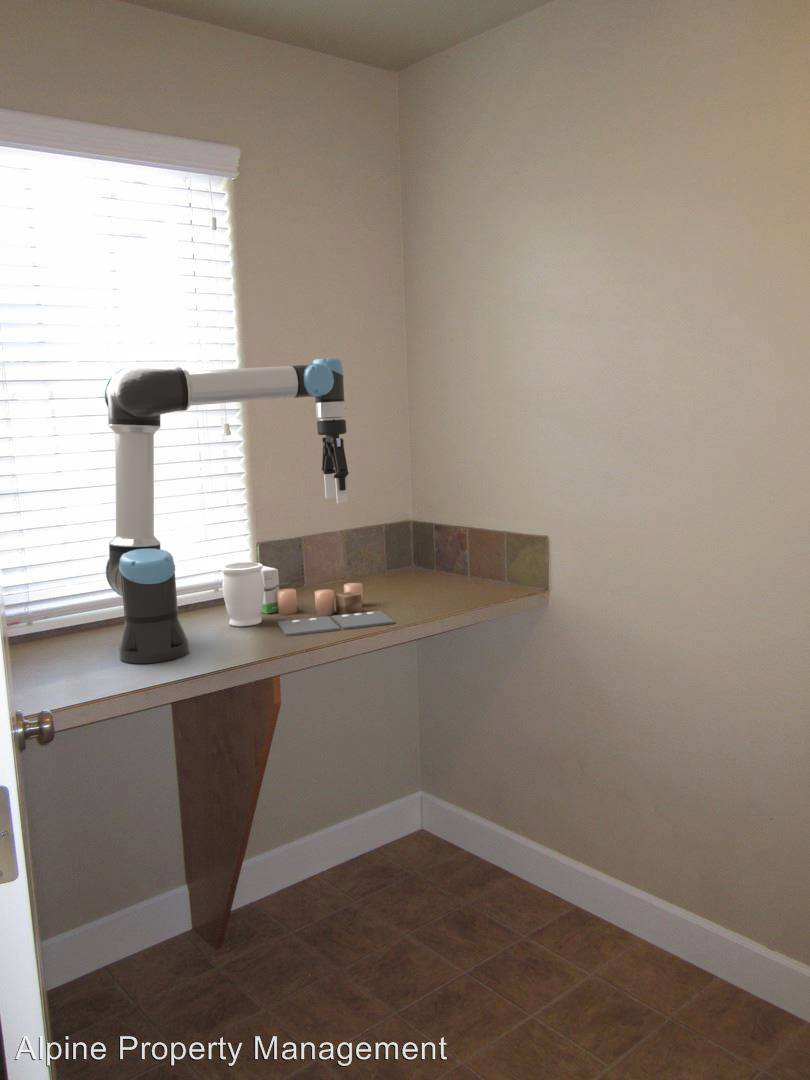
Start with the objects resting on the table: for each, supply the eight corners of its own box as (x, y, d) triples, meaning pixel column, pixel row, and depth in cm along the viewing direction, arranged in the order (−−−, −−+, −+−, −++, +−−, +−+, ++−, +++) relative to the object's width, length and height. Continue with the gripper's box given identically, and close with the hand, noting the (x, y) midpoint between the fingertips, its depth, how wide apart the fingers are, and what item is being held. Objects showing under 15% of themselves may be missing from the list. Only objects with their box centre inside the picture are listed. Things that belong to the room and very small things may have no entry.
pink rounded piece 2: (347, 609, 238) (346, 587, 237) (342, 605, 243) (341, 583, 242) (365, 607, 240) (364, 585, 239) (360, 603, 244) (359, 582, 244)
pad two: (286, 636, 212) (286, 632, 212) (277, 624, 225) (277, 621, 224) (339, 630, 216) (339, 626, 216) (328, 618, 228) (328, 615, 228)
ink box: (282, 611, 239) (279, 568, 237) (266, 614, 236) (263, 571, 234) (265, 606, 246) (262, 564, 244) (249, 609, 242) (247, 567, 241)
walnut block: (345, 616, 231) (344, 597, 230) (336, 612, 235) (335, 594, 234) (362, 613, 233) (361, 594, 232) (352, 609, 237) (351, 591, 237)
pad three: (343, 629, 216) (343, 626, 216) (332, 618, 229) (331, 615, 228) (394, 623, 220) (394, 620, 220) (380, 612, 232) (380, 609, 232)
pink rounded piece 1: (317, 616, 231) (316, 594, 230) (314, 612, 236) (312, 590, 235) (336, 614, 232) (335, 592, 232) (332, 610, 237) (331, 588, 236)
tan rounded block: (279, 615, 234) (278, 593, 233) (277, 611, 239) (275, 589, 238) (298, 613, 236) (297, 591, 235) (295, 609, 240) (294, 587, 239)
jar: (257, 628, 221) (253, 569, 219) (218, 628, 223) (214, 569, 221) (272, 618, 231) (268, 561, 229) (234, 617, 233) (230, 561, 231)
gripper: (357, 418, 219) (362, 503, 222) (334, 418, 243) (339, 495, 246) (327, 420, 217) (332, 506, 220) (307, 419, 241) (313, 497, 244)
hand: (336, 500), depth 233 cm, fingers open, 13 cm apart
